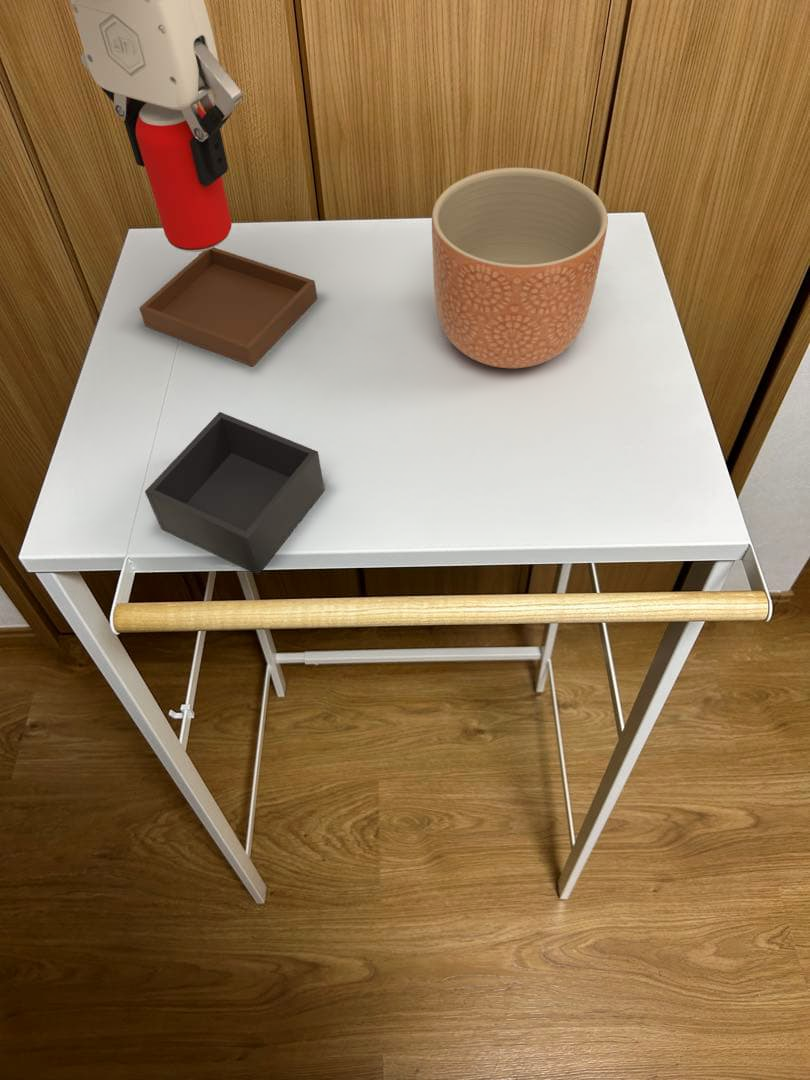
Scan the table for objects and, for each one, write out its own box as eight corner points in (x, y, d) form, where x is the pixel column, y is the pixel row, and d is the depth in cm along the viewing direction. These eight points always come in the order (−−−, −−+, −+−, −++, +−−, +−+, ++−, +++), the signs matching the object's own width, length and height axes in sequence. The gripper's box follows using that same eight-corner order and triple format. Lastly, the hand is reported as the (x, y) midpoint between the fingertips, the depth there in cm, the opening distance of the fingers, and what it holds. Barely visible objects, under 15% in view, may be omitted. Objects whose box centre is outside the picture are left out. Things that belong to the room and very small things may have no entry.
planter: (582, 291, 97) (603, 167, 85) (589, 393, 87) (613, 269, 75) (437, 287, 99) (437, 165, 86) (427, 387, 89) (425, 264, 76)
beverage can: (156, 252, 76) (115, 122, 67) (186, 215, 80) (151, 85, 70) (216, 263, 75) (184, 131, 65) (244, 224, 78) (217, 94, 69)
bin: (161, 529, 78) (144, 491, 74) (231, 451, 84) (219, 411, 79) (258, 575, 75) (247, 538, 70) (324, 490, 81) (318, 451, 76)
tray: (145, 326, 96) (138, 307, 94) (213, 264, 103) (209, 245, 101) (252, 366, 91) (248, 348, 89) (317, 299, 98) (314, 280, 96)
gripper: (-11, -81, 58) (78, 165, 73) (182, -40, 53) (237, 216, 67) (64, -114, 62) (135, 126, 76) (252, -80, 57) (289, 171, 71)
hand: (182, 166), depth 72 cm, fingers closed on beverage can, 6 cm apart
